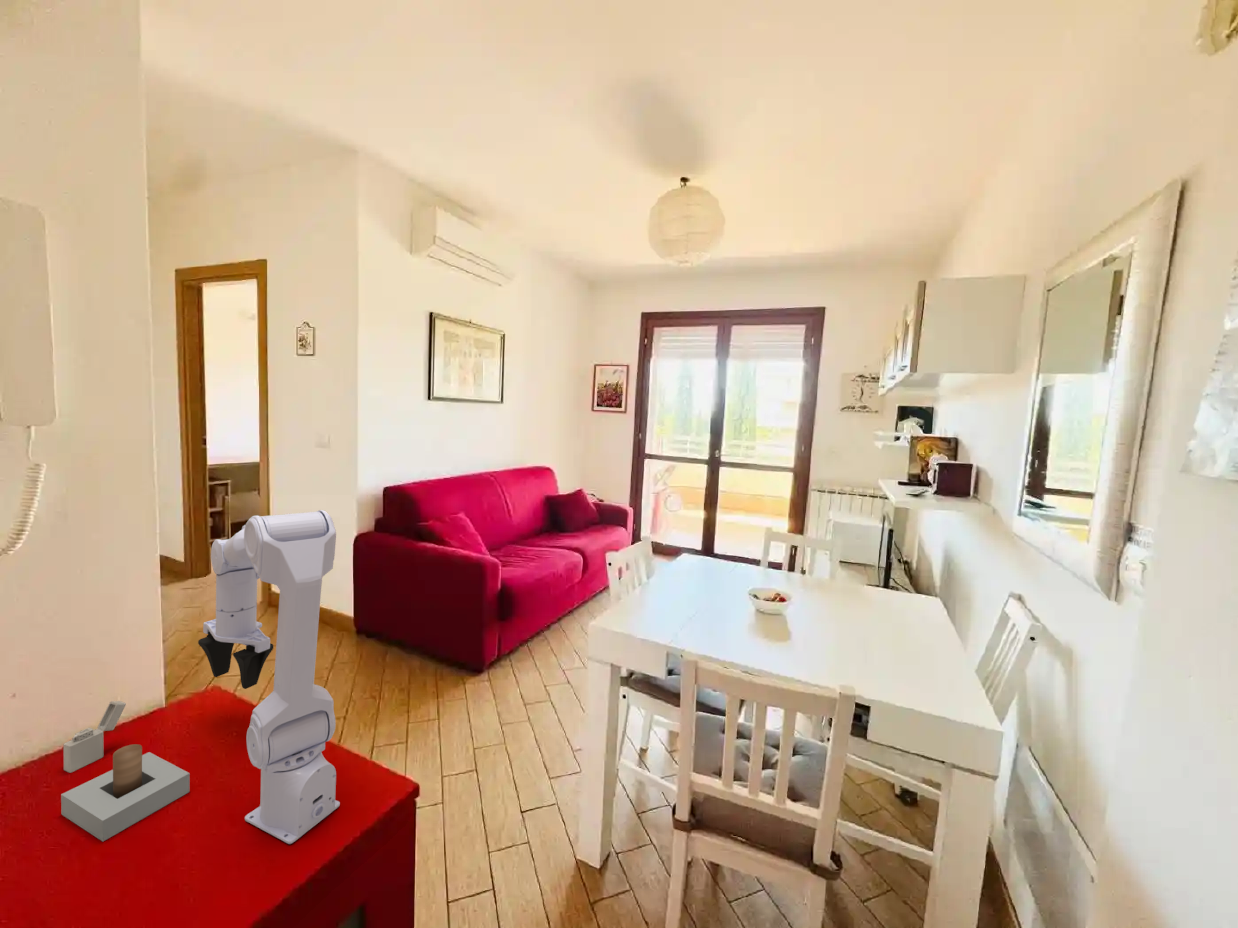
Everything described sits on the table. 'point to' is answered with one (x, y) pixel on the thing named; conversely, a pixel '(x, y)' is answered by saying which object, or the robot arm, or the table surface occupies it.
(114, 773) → the walnut peg
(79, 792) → the socket block
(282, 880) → the table surface
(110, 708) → the lighter
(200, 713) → the table surface
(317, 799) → the robot arm
